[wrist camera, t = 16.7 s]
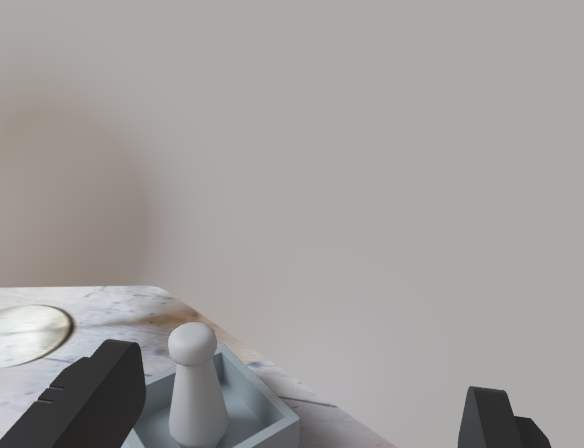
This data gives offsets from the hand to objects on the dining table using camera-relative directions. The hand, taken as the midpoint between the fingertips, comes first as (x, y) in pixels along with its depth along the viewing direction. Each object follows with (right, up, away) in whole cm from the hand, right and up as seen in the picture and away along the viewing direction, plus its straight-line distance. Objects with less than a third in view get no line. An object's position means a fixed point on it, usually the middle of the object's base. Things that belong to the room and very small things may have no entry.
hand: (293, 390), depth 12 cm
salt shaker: (-9, -18, +37) cm, 42 cm away
